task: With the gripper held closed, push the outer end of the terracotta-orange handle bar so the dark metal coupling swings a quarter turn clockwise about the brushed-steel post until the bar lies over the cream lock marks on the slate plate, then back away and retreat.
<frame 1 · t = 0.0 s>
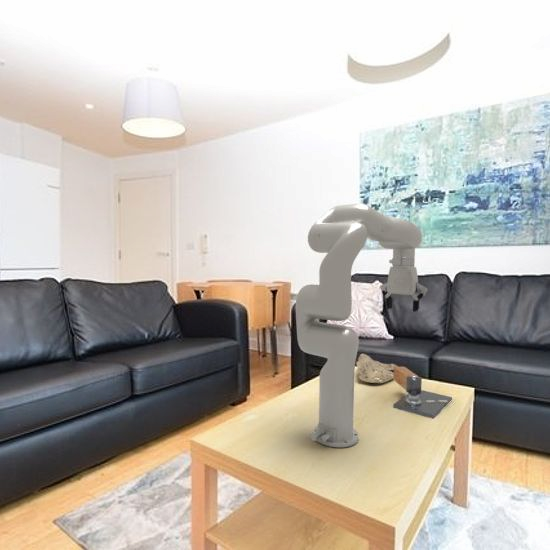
hand: (402, 309, 140), 31 cm above the table, fingers open, 9 cm apart
post base: (423, 403, 132), on the table
stone: (377, 376, 163), on the table
coupling: (407, 379, 135), point 8 cm above the table, hinge at 0.0°
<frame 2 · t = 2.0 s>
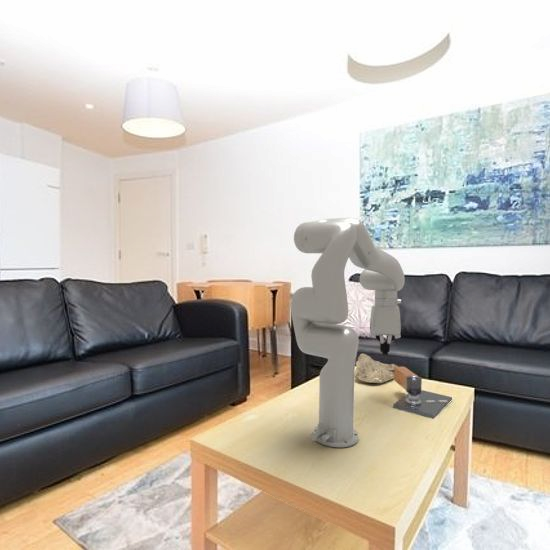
hand: (384, 353, 136), 16 cm above the table, fingers closed
nothing on the table moved.
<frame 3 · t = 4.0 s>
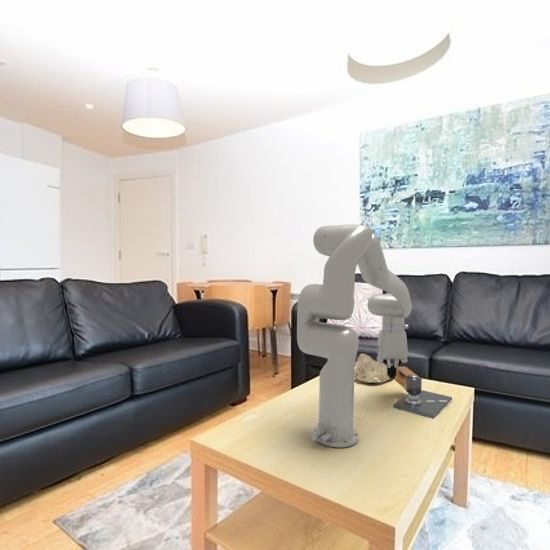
hand: (391, 377, 139), 7 cm above the table, fingers closed
coupling: (408, 379, 135), point 8 cm above the table, hinge at -1.8°, touching gripper
everything else where it was.
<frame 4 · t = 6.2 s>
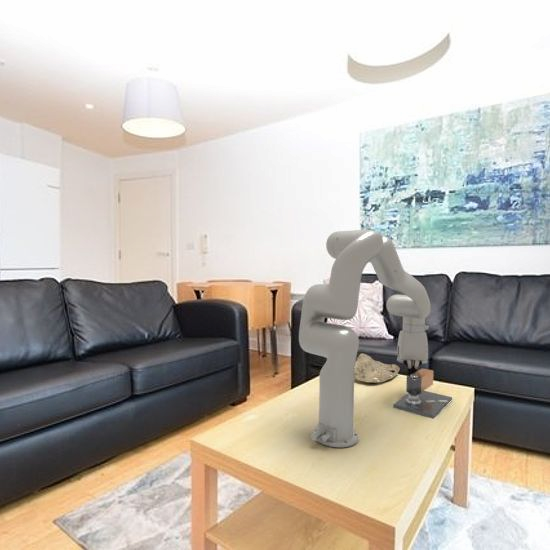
hand: (411, 378, 139), 6 cm above the table, fingers closed
coupling: (419, 380, 133), point 8 cm above the table, hinge at -46.7°, touching gripper
everything else where it was.
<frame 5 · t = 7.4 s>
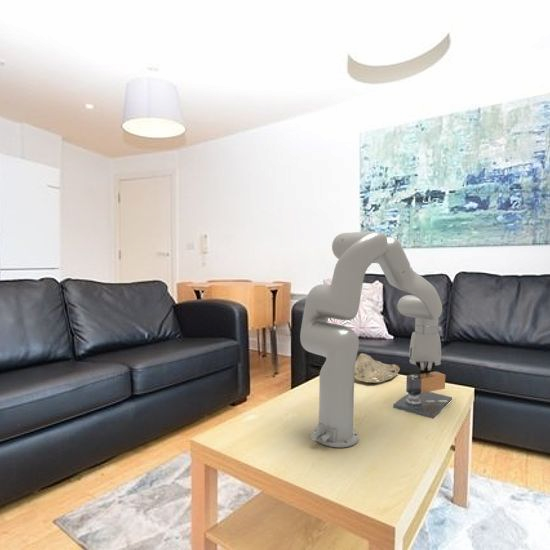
hand: (424, 380, 137), 6 cm above the table, fingers closed
coupling: (424, 381, 132), point 8 cm above the table, hinge at -69.4°, touching gripper
everything else where it was.
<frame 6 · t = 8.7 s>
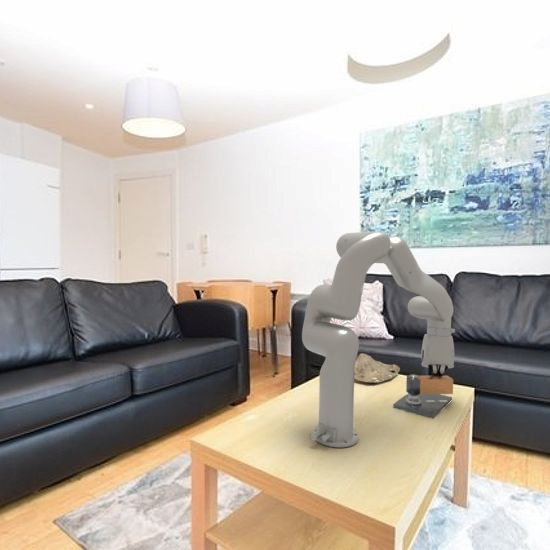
hand: (436, 383, 134), 6 cm above the table, fingers closed
coupling: (428, 383, 130), point 8 cm above the table, hinge at -92.5°, touching gripper
everything else where it was.
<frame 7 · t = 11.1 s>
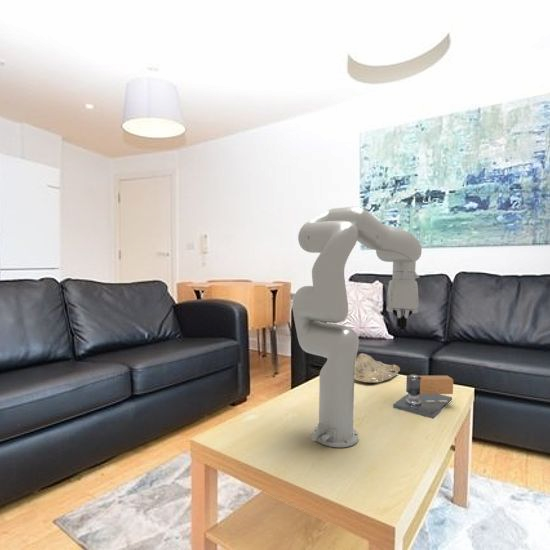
hand: (401, 328, 134), 25 cm above the table, fingers closed
coupling: (428, 383, 130), point 8 cm above the table, hinge at -92.6°
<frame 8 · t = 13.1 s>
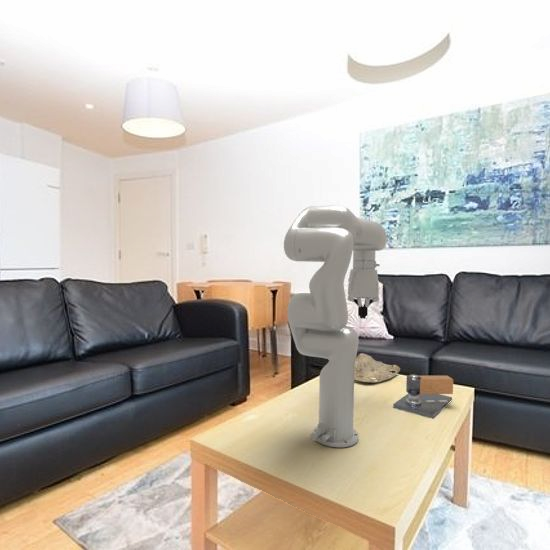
hand: (362, 317, 134), 29 cm above the table, fingers closed
at the end: coupling at -93° (first picture: +0°); the gripper is holding nothing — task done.
